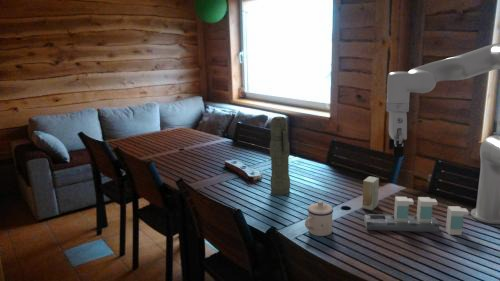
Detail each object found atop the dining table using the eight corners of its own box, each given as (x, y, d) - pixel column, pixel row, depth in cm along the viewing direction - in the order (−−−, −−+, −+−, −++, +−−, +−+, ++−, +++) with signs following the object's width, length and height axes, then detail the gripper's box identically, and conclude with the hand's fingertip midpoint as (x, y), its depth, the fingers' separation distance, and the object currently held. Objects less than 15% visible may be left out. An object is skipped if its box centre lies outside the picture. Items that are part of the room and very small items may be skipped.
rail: (433, 223, 150) (433, 215, 149) (439, 232, 143) (439, 224, 142) (364, 221, 154) (364, 214, 153) (366, 229, 147) (366, 222, 146)
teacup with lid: (319, 223, 154) (319, 194, 151) (338, 231, 147) (338, 201, 144) (296, 233, 147) (296, 203, 144) (315, 242, 140) (315, 211, 137)
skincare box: (368, 203, 170) (369, 175, 167) (378, 205, 167) (379, 177, 164) (361, 208, 165) (362, 180, 162) (372, 210, 162) (373, 182, 159)
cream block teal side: (432, 220, 148) (434, 197, 146) (436, 226, 143) (438, 202, 141) (416, 219, 149) (417, 197, 147) (419, 225, 144) (421, 202, 142)
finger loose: (462, 229, 144) (465, 206, 142) (467, 236, 140) (470, 212, 137) (445, 229, 145) (447, 206, 143) (450, 235, 141) (452, 211, 138)
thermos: (280, 198, 178) (279, 121, 169) (265, 190, 188) (263, 117, 179) (296, 193, 183) (295, 118, 174) (280, 186, 192) (278, 114, 183)
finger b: (410, 219, 149) (411, 196, 147) (413, 225, 145) (414, 202, 142) (393, 218, 150) (395, 196, 148) (396, 224, 146) (397, 201, 143)
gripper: (414, 111, 134) (411, 160, 139) (403, 102, 151) (401, 146, 155) (390, 111, 136) (388, 160, 140) (383, 103, 152) (381, 146, 156)
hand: (395, 152), depth 148 cm, fingers open, 9 cm apart
